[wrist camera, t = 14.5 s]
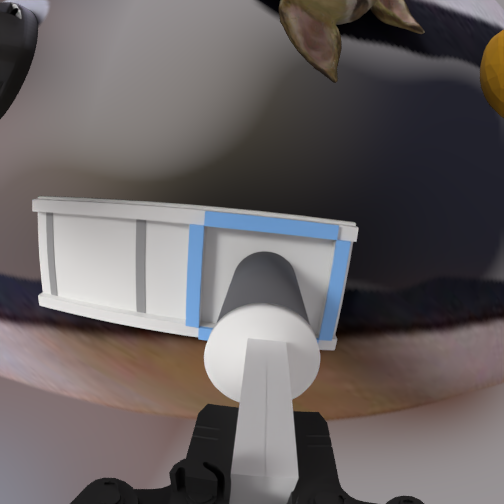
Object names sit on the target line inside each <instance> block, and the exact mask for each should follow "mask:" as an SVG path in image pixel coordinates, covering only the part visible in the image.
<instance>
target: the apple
mask: <svg viewBox="0 0 504 504" xmlns="http://www.w3.org/2000/svg"><path fill="white" fill-rule="evenodd" d="M480 82H481V88H482V91H483V93H484V96H485V98H486V100H487V102H488V103H489V105H490V106H491V107H492V108H493V109H494V110H495V111H496V112H497V113H498V114H499V115H500V116H501V117H503V118H504V30H503V31H501V32H500V33H498V34H497V35H495V36H494V37H493V38H492V39H491V40H490V42H489V43H488V45H487V46H486V48H485V51H484V54H483V58H482V61H481V67H480Z"/></svg>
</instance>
